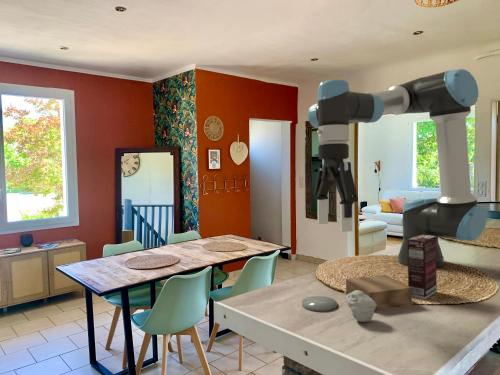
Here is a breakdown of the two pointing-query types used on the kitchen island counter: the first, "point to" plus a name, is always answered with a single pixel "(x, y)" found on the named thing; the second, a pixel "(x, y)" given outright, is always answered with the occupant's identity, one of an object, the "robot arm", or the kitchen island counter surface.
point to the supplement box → (422, 266)
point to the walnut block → (382, 291)
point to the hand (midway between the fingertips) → (333, 227)
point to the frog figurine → (361, 306)
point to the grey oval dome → (319, 303)
